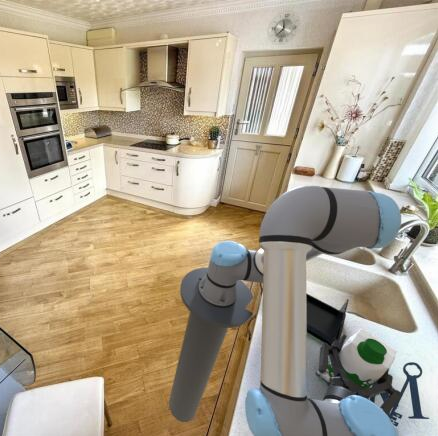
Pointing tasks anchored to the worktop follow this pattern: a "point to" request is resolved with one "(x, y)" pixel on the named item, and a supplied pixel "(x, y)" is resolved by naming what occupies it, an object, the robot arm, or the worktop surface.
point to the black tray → (324, 320)
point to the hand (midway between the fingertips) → (363, 350)
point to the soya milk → (365, 358)
